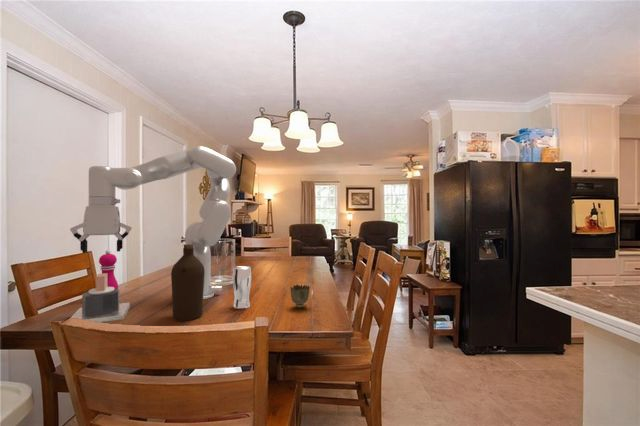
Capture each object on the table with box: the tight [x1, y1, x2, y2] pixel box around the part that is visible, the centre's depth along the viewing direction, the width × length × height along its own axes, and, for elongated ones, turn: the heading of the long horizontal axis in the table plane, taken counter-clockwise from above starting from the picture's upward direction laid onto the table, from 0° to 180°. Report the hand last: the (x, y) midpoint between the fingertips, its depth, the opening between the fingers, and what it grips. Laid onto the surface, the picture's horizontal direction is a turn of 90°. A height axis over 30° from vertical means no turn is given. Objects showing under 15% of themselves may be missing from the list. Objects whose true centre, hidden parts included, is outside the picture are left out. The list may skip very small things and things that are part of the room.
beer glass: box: [232, 265, 252, 310], centre depth 114 cm, size 7×7×15 cm
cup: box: [289, 284, 311, 309], centre depth 114 cm, size 8×7×8 cm
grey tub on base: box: [70, 288, 131, 323], centre depth 103 cm, size 15×15×8 cm
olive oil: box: [170, 243, 205, 322], centre depth 103 cm, size 11×11×25 cm
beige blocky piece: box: [88, 273, 114, 295], centre depth 103 cm, size 7×7×8 cm
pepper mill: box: [98, 249, 119, 290], centre depth 123 cm, size 7×7×20 cm
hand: (102, 251), depth 103 cm, fingers open, 9 cm apart
